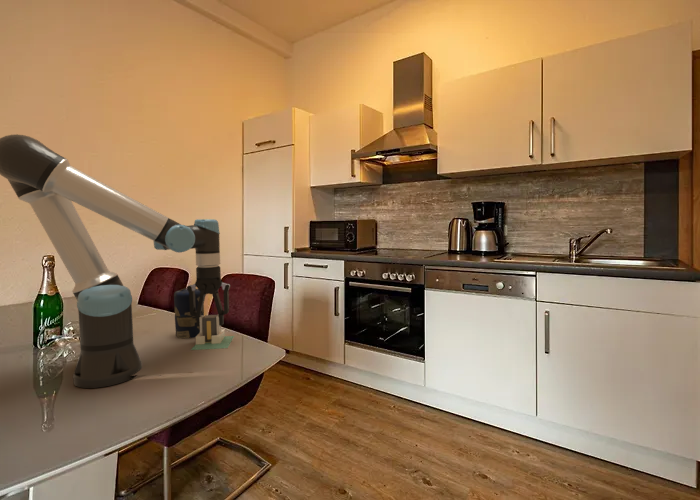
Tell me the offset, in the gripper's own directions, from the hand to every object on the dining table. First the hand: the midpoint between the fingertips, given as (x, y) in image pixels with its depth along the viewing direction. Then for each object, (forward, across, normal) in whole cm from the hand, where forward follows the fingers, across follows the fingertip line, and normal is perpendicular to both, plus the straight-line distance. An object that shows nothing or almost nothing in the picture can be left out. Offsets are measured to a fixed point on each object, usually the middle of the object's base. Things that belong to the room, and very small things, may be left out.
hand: (210, 335), depth 123 cm
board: (+3, -2, +2) cm, 4 cm away
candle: (+3, +9, -9) cm, 13 cm away
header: (+2, 0, 0) cm, 2 cm away
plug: (+2, 0, 0) cm, 2 cm away
